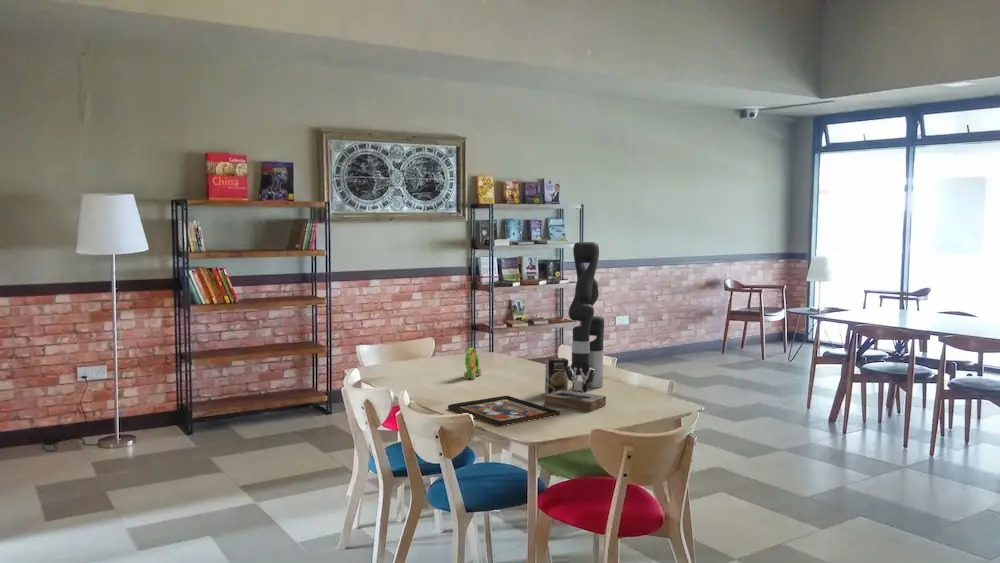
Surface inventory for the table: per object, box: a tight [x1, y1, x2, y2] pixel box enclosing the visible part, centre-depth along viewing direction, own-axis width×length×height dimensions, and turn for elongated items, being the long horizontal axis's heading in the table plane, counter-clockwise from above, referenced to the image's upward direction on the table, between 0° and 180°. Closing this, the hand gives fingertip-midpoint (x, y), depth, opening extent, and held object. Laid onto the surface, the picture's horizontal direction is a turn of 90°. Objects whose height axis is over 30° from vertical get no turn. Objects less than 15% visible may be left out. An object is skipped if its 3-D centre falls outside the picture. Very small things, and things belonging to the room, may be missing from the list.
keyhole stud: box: [574, 378, 584, 398], centre depth 342 cm, size 4×4×10 cm
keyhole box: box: [543, 390, 607, 413], centre depth 344 cm, size 14×22×4 cm, turn 56°
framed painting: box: [447, 395, 561, 427], centre depth 331 cm, size 38×35×3 cm
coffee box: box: [544, 357, 569, 395], centre depth 365 cm, size 9×6×16 cm
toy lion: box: [463, 347, 482, 380], centre depth 401 cm, size 16×5×15 cm, turn 164°
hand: (580, 391), depth 342 cm, fingers closed on keyhole stud, 4 cm apart
